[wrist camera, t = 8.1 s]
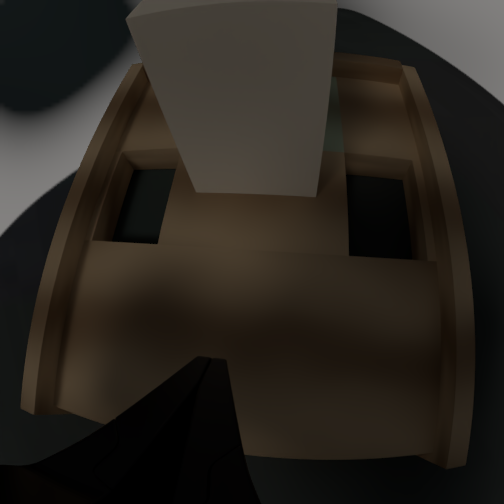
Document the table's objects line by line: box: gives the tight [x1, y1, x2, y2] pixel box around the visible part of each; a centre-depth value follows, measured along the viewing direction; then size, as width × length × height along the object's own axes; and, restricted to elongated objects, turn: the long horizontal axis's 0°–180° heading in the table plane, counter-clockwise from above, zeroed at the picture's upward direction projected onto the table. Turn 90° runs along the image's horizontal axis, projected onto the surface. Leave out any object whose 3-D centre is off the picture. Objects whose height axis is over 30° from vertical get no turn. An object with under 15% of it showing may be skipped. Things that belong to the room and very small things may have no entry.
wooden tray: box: [21, 52, 475, 469], centre depth 16 cm, size 24×20×4 cm
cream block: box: [126, 0, 337, 197], centre depth 13 cm, size 7×6×10 cm
